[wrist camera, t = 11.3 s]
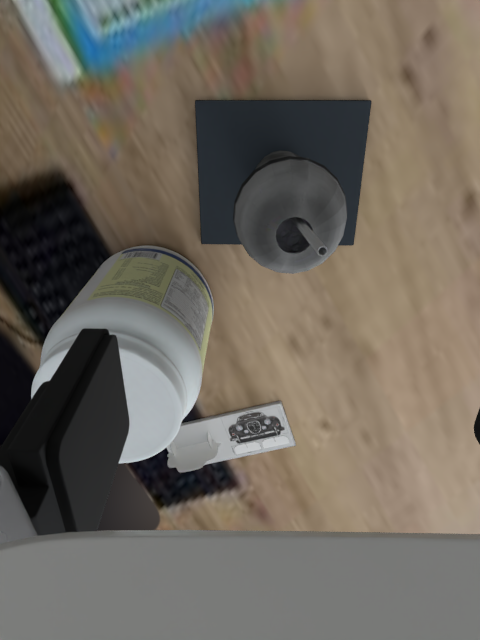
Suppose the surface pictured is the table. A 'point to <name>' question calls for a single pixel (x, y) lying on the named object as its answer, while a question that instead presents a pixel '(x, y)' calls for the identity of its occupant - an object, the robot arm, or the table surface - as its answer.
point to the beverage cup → (290, 213)
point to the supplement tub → (143, 338)
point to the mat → (270, 136)
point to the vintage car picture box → (230, 436)
